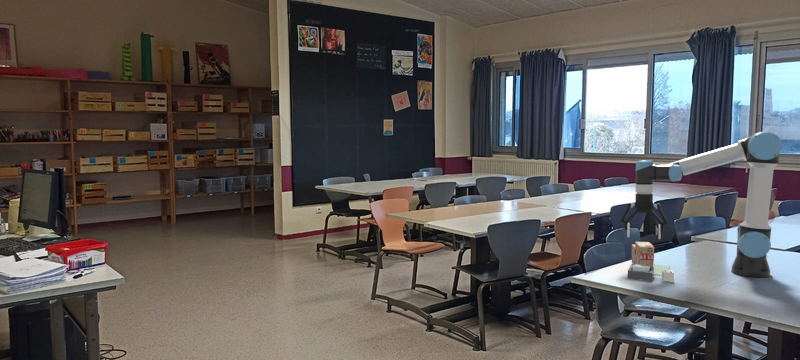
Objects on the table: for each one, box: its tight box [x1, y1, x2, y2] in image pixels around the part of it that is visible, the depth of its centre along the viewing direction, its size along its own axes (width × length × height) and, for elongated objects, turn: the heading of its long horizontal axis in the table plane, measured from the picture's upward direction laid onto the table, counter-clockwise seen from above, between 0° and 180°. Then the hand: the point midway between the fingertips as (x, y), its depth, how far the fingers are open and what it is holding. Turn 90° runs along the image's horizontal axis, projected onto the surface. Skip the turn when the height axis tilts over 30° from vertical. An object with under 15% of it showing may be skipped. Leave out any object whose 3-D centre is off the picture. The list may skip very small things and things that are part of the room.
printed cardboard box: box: [631, 241, 655, 268], centre depth 269 cm, size 21×6×12 cm, turn 167°
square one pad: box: [653, 263, 670, 277], centre depth 266 cm, size 7×22×1 cm, turn 152°
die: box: [661, 270, 675, 283], centre depth 247 cm, size 4×4×4 cm
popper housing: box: [627, 265, 655, 282], centre depth 253 cm, size 10×10×4 cm
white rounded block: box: [632, 264, 650, 272], centre depth 253 cm, size 7×7×4 cm
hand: (643, 237), depth 268 cm, fingers open, 13 cm apart
